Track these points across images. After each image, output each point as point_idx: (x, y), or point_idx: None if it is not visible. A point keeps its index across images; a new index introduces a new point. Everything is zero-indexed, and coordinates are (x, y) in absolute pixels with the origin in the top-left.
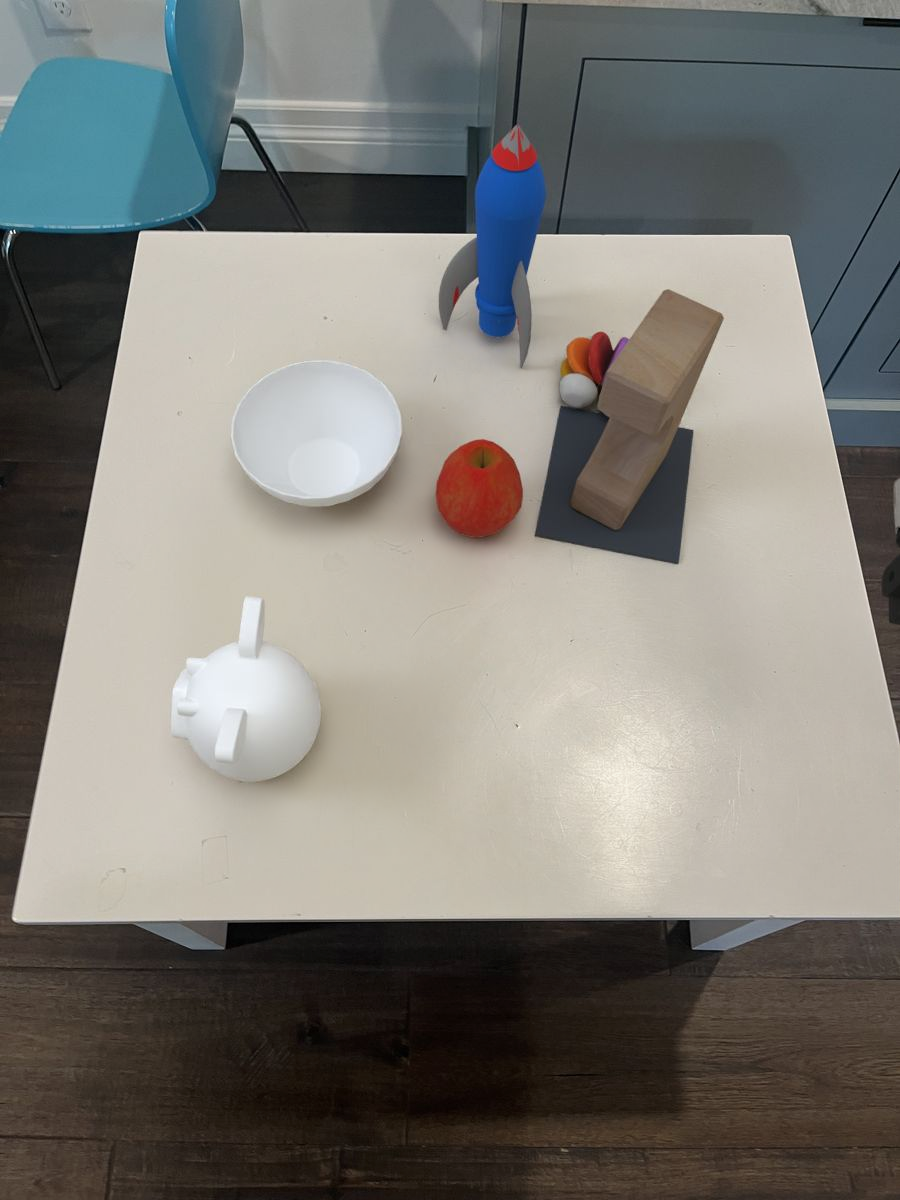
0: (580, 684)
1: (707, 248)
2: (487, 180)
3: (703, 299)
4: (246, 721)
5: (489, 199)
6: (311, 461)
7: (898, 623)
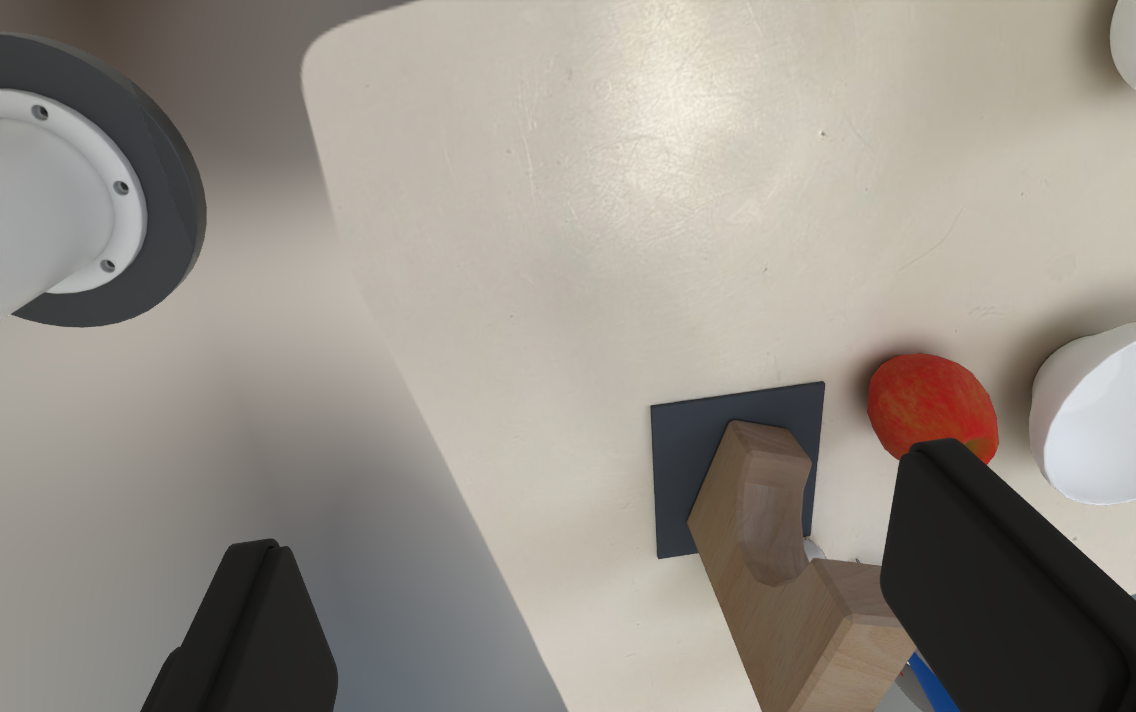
0: (748, 217)
1: None
2: None
3: (667, 690)
4: None
5: None
6: (1092, 379)
7: (947, 445)
